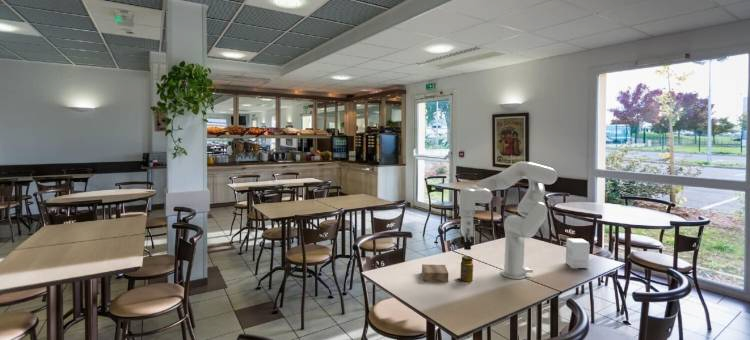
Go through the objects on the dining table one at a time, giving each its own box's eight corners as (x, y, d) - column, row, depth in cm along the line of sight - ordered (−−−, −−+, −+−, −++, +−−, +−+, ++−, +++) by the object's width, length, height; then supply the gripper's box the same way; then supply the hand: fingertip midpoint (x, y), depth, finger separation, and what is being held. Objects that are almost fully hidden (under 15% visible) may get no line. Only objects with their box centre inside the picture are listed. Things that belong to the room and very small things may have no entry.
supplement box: (581, 263, 216) (582, 238, 215) (588, 269, 208) (590, 242, 206) (564, 263, 217) (566, 237, 216) (571, 268, 208) (572, 242, 207)
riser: (444, 274, 200) (444, 264, 199) (448, 282, 188) (448, 273, 187) (421, 273, 200) (422, 264, 200) (424, 282, 188) (424, 272, 188)
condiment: (476, 281, 189) (477, 258, 188) (464, 284, 185) (465, 261, 183) (465, 276, 195) (466, 254, 194) (453, 280, 191) (454, 257, 190)
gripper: (478, 217, 178) (476, 252, 179) (471, 209, 195) (469, 242, 197) (462, 216, 178) (460, 251, 180) (456, 209, 196) (455, 241, 197)
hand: (465, 246), depth 188 cm, fingers open, 9 cm apart
